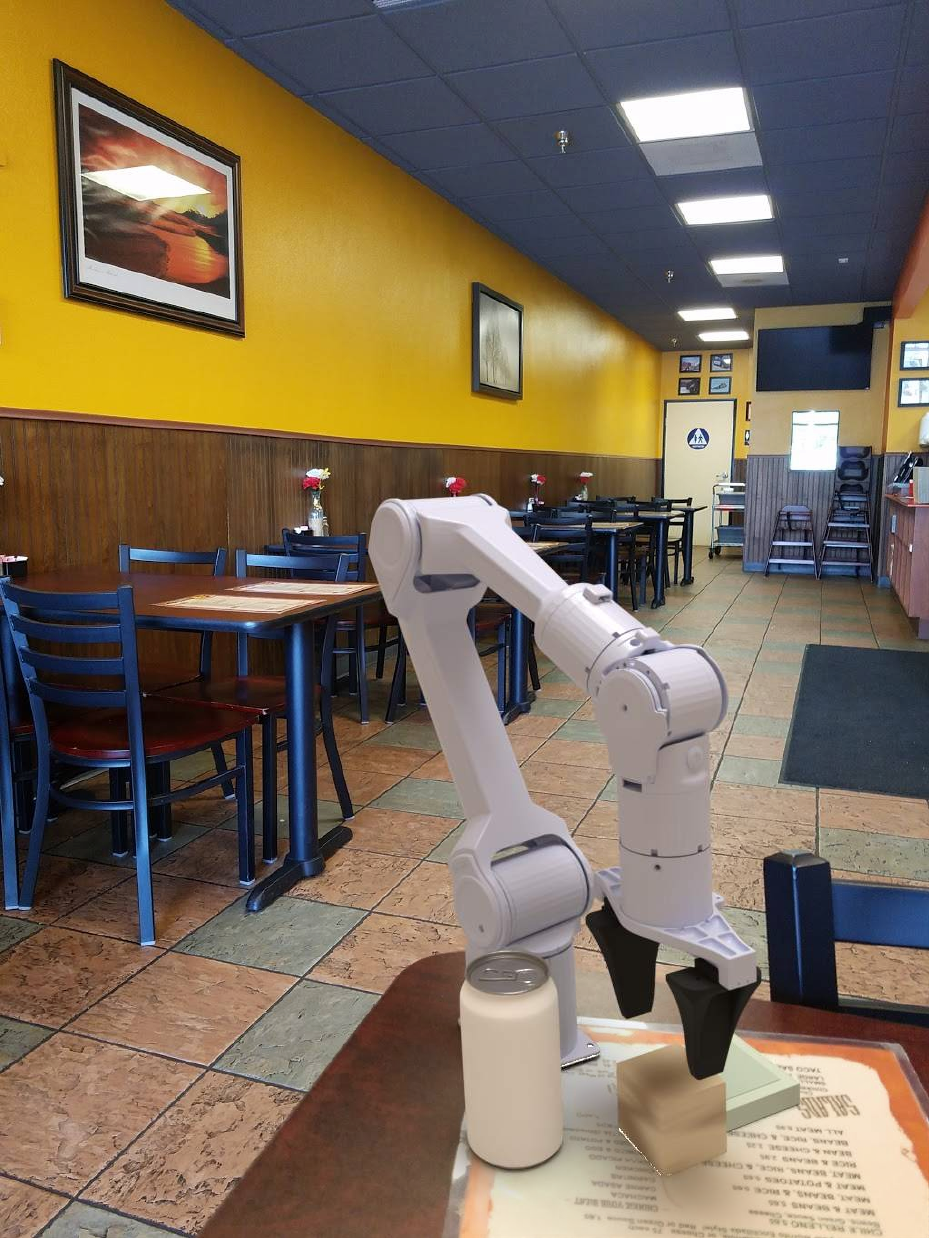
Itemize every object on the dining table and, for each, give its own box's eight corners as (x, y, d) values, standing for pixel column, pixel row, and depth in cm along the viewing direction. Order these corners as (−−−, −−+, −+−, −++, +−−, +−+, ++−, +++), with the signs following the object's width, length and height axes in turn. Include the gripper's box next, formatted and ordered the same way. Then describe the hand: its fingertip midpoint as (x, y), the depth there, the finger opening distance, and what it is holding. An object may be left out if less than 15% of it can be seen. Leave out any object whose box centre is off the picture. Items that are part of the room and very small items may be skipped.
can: (558, 1178, 60) (551, 1000, 58) (458, 1168, 61) (448, 993, 60) (568, 1111, 66) (561, 949, 65) (477, 1104, 68) (468, 944, 66)
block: (618, 1131, 64) (616, 1063, 63) (679, 1109, 66) (678, 1042, 65) (662, 1179, 60) (660, 1105, 59) (727, 1153, 62) (725, 1081, 61)
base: (656, 1077, 69) (655, 1058, 69) (732, 1050, 72) (732, 1031, 72) (718, 1135, 63) (717, 1113, 63) (800, 1103, 66) (799, 1082, 66)
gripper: (797, 866, 55) (798, 1083, 57) (650, 798, 68) (655, 976, 70) (697, 892, 52) (702, 1120, 54) (564, 816, 65) (572, 1001, 67)
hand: (670, 1041), depth 62 cm, fingers open, 7 cm apart
